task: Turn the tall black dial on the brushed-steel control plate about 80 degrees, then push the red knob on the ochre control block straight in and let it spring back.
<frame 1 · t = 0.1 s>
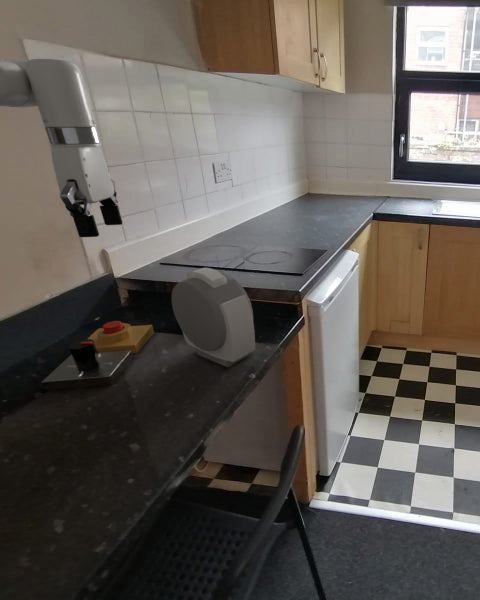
hand: (102, 230, 80), 28 cm above the counter, tool pointing down, fingers open, 9 cm apart
press knob: (113, 327, 93), point 4 cm above the counter, slide at 0.1 cm
dial: (85, 353, 82), point 5 cm above the counter, hinge at 0.0°
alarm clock: (221, 356, 91), on the counter
knob block: (118, 344, 95), on the counter
dial plate: (92, 373, 84), on the counter
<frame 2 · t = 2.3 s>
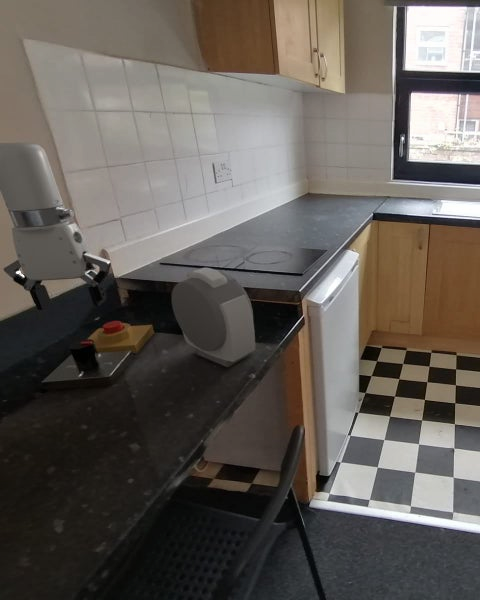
hand: (73, 305, 78), 15 cm above the counter, tool pointing down, fingers open, 9 cm apart
nothing on the counter moved.
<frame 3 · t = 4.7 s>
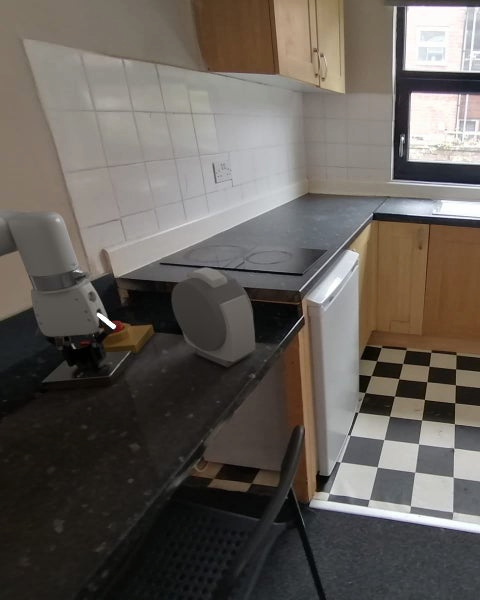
hand: (87, 361, 83), 3 cm above the counter, tool pointing down, fingers closed on dial, 4 cm apart
dial: (85, 353, 82), point 5 cm above the counter, hinge at 0.0°, touching gripper
everything else where it was.
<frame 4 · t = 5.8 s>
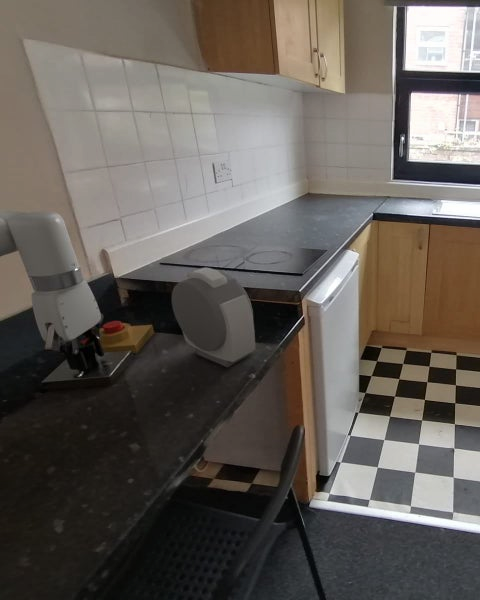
hand: (87, 361, 83), 3 cm above the counter, tool pointing down, fingers closed on dial, 4 cm apart
dial: (85, 353, 82), point 5 cm above the counter, hinge at 80.3°, touching gripper
everything else where it was.
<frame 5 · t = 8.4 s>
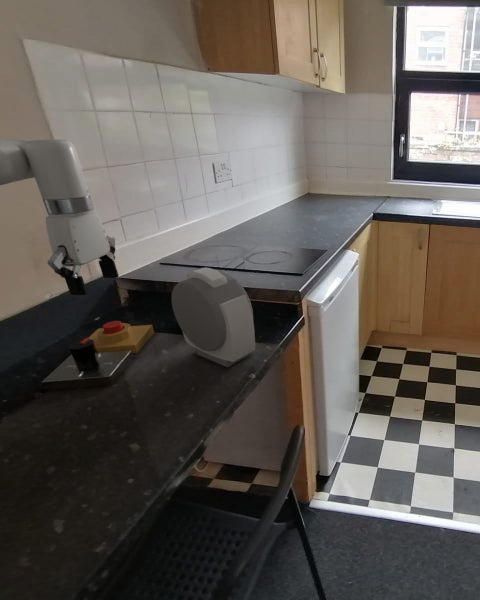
hand: (96, 285, 87), 15 cm above the counter, tool pointing down, fingers open, 9 cm apart
dial: (85, 353, 82), point 5 cm above the counter, hinge at 81.0°
everything else where it was.
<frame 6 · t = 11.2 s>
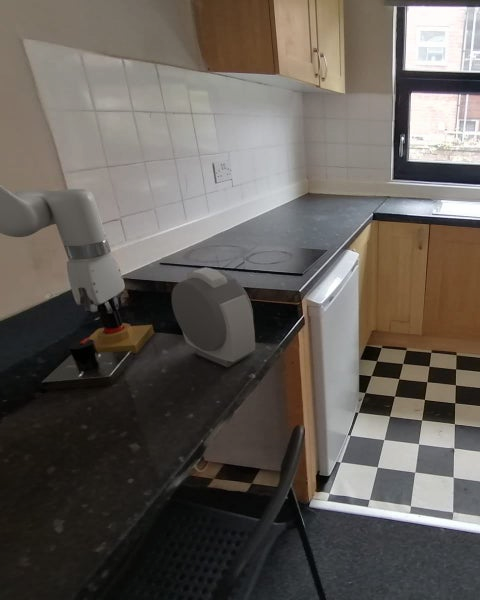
hand: (113, 326, 93), 5 cm above the counter, tool pointing down, fingers closed
press knob: (113, 329, 93), point 4 cm above the counter, slide at -0.5 cm, touching gripper
everything else where it was.
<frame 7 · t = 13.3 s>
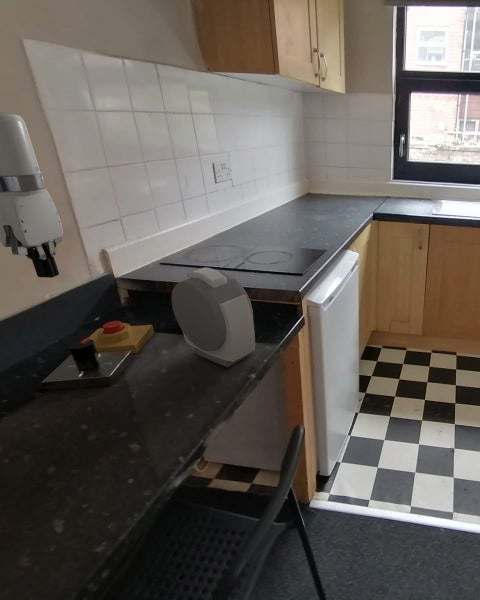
hand: (48, 275, 83), 19 cm above the counter, tool pointing down, fingers closed
press knob: (113, 327, 93), point 4 cm above the counter, slide at 0.1 cm
everything else where it was.
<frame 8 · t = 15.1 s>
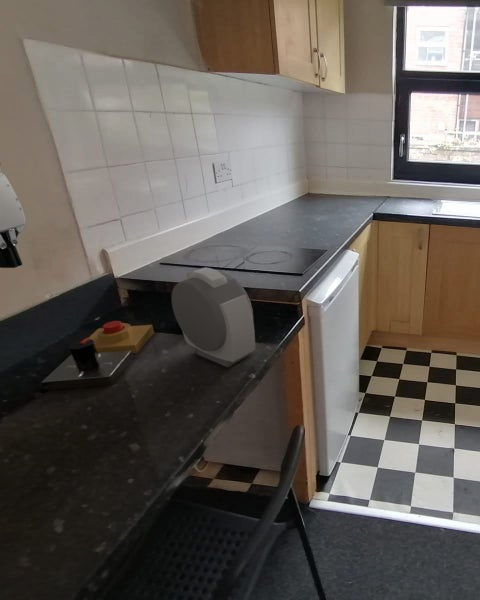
hand: (11, 266, 79), 22 cm above the counter, tool pointing down, fingers closed
nothing on the counter moved.
at the end: dial at +81° (first picture: +0°); press knob pushed in 1.1 cm at the most during the clip, back to where it started at the end; press knob slide at 0.1 cm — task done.
